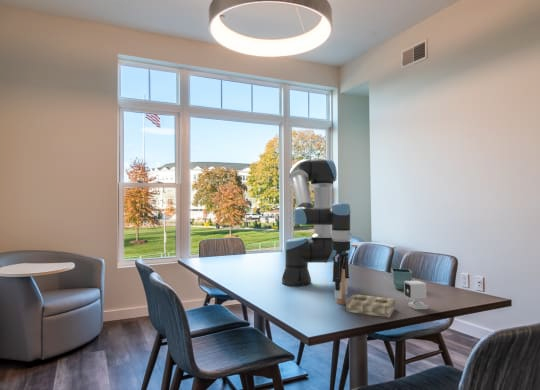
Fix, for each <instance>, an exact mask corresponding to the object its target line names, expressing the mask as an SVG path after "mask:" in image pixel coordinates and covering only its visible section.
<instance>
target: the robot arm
mask: <svg viewBox="0 0 540 390" xmlns="http://www.w3.org/2000/svg"><path fill="white" fill-rule="evenodd" d="M289 181H290V183H291V184H292V188H293V189H292V190H293V194H294V200H295V205H296V207H295V208H294V209H293V223H294V224H295V225H301V226H311V225H312V226H313V228H314V229H313V230H314V231H313V234H312V235H311V239H309V238H308V237H303V236H302V237H300V236H299V237H294V238H289V239H287V240H286V241H285V248H284V250H285V259H284V261H285V268H284V272H283V274H282V276H281V277H282V278H281V284H283V285H285V284H286V286H290V285H291V286H292V287H304V286H308V285H311V284H312V277H311V274H310V271H309V268H308V267H309V264H310V263H315V264H316V263H325V264H327V263H332V264H333V266H332V270H333V271H332V282H333V283H334V299H337V298H339V299H342V282H341V275H342V269H345V295H348V279H350V272H349V270H350V269H349V251H351V241H350V240H351V236H352V232H351V206H350V203H343V202H342V203H341V202H339V203H332V205H331V188H332V187H333V186H334V182H337V168H336V164H335V162H334V160H332V159H320V158H319V159H315V158H314V159H307V158H306V159H300V160H298V161H297V162H295V163H294V165H292V167H291V169H290V171H289ZM308 182H310V186H312V187H313V199H312V195H311V190H310V187H309V183H308Z"/></svg>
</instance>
